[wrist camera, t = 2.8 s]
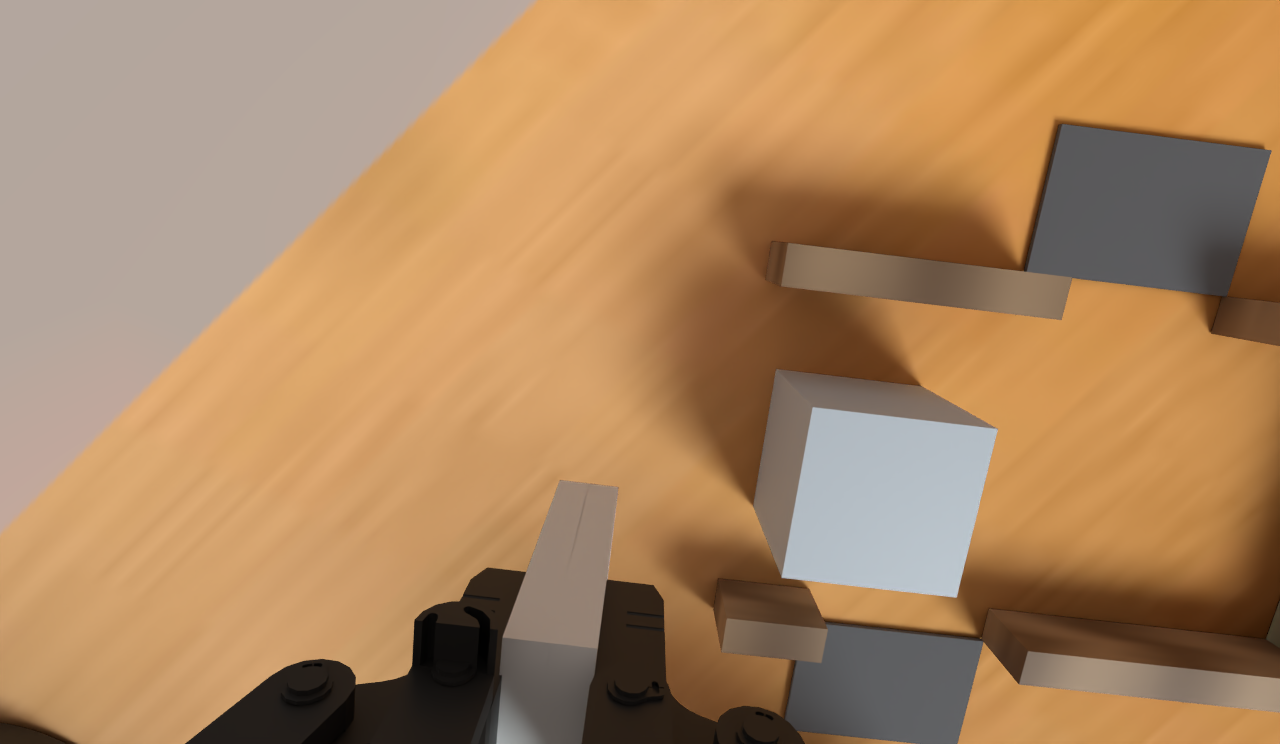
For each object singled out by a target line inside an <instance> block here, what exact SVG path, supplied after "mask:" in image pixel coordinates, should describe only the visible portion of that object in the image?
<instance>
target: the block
mask: <svg viewBox="0 0 1280 744" xmlns="http://www.w3.org/2000/svg"><path fill="white" fill-rule="evenodd" d="M997 430H998V429H997V428H995V427H993V426H992V425H990V424H988V423H986V422H984V421H983V420H981V419H979V418H977V417H975V416H974V415H972V414H970V413H968V412H967V411H965V410H963V409H961V408H959V407H958V406H956V405H954V404H952V403H951V402H949V401H947V400H945V399H943V398H942V397H940V396H938V395H936V394H935V393H933V392H931V391H929V390H927V389H926V388H924V387H922V386H916V385H907V384H899V383H891V382H882V381H874V380H865V379H857V378H849V377H840V376H832V375H823V374H815V373H807V372H798V371H790V370H781V369H776V373H775V379H774V385H773V391H772V396H771V402H770V408H769V414H768V420H767V426H766V432H765V438H764V444H763V450H762V456H761V462H760V468H759V474H758V480H757V486H756V492H755V498H754V504H753V507H754V509H755V512H756V514H757V517H758V520H759V522H760V525H761V527H762V530H763V532H764V535H765V537H766V540H767V542H768V545H769V547H770V550H771V552H772V555H773V557H774V560H775V562H776V565H777V567H778V570H779V572H780V575H781V577H782V578H788V579H797V580H806V581H815V582H823V583H832V584H841V585H850V586H859V587H868V588H877V589H885V590H894V591H903V592H912V593H921V594H930V595H939V596H947V597H956V598H957V594H958V590H959V585H960V581H961V577H962V573H963V569H964V565H965V561H966V557H967V553H968V549H969V545H970V541H971V536H972V532H973V528H974V524H975V520H976V516H977V512H978V508H979V504H980V500H981V496H982V492H983V487H984V483H985V479H986V475H987V471H988V467H989V463H990V459H991V455H992V451H993V447H994V443H995V438H996V434H997Z"/></svg>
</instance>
